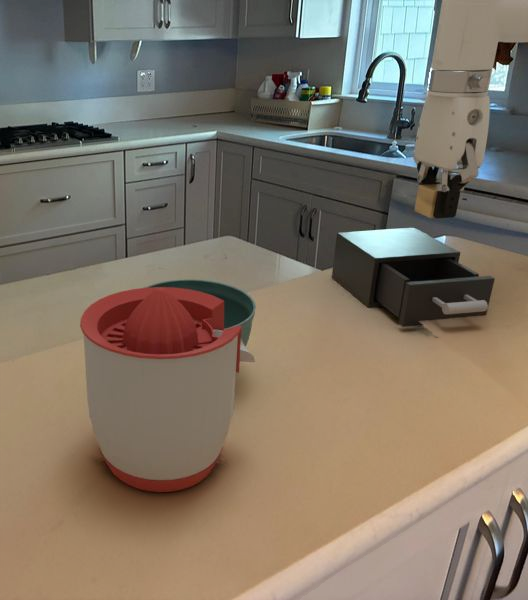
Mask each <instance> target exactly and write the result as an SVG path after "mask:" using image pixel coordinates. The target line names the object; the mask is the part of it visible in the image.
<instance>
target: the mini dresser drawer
mask: <svg viewBox="0 0 528 600" xmlns="http://www.w3.org/2000/svg"><path fill="white" fill-rule="evenodd" d="M495 279H496V278H495V277H493V276H491V275H482V276H480V274H479V273H478V272H476V271H474V270H473V269H471V268H469V267H467V266H465V265H463V264H461V263H460V262H459V263H458V262H456V261H454V260H452V259H451V258H449V257H448V258H434V259H420V260H407V261H393V262H380V263H379V267H378V273H377V280H376V287H375V293H374V299H376V300H377V301H378V302H379V303H381V304H382V305H383V306H382V307H385V309H387V310H388V311H389V312H390V313H392V315H394V316H396V317H397V318H398V319H399V320H398V324H399V325H400V326H401V327H402V328H405V327H416V326H417V327H418V326H419V327H420V326H424V324H422V322H424V321H425V322H426V321H435V320H445V319H446V320H447V319H457V318H470V317H482V316H487V314H488V310H489V306H490V301H491V297H492V292H493V289H494V284H495Z"/></svg>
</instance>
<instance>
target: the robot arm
mask: <svg viewBox="0 0 528 600" xmlns="http://www.w3.org/2000/svg"><path fill="white" fill-rule="evenodd" d="M438 17H439V18H438V24H437V30H436V31H437V32H436V36H435V41H434V42H435V43H434V47H433V54H432V60H431V66H430V72H429V77H428V85H427V90H426V97H425V100H424V103H423V106H422V110H421V114H420V118H419V122H418V126H417V131H416V137H415V142H414V143H415V145H414V153H413V154H412V159H413V161H414V162H415V164H416V169H417V172H418V175H417V178H416V180H417V182H418V186H419V185H427V184H442V186H441V189H442V190H441V191H438V193H437V198H436V203H435V209H434V214H433V216H434V217H435V218H434V219H450V218H451V219H452V218H455V217H456V216H457V211H458V206H459V202H460V196H461V192H464V190H465V186H466V185H467V184H468V183H469V182H471V181H473V180H475V179H476V178H478V177H479V173H480V172H479V169H480V168H481V167H482V166H483V162H484V159H485V154H486V147H487V141H488V134H489V126H490V113H491V101H490V100H491V99H490V97H491V96H489V95H488V93H489V87H490V83H491V79H492V75H493V69H494V65H495V60H496V54H497V51H498V50H497V49H498V44H499V43H501V42H502V43H528V0H441V5H440V11H439V16H438ZM441 173H442V174H441ZM452 174H455V175H454V176H453V177H452ZM440 176H441V182H440V181H439V179H440ZM415 204H416V202H415V203H414V205H415Z"/></svg>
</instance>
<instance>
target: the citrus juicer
mask: <svg viewBox="0 0 528 600" xmlns="http://www.w3.org/2000/svg"><path fill="white" fill-rule="evenodd" d="M79 327H80V330H81V332H82V334H83V344H84V345H83V348H84V363H85V365H84V366H85V377H86V378H85V380H86V399H87V407H88V415H89V418H90V423H91V426H92V429H93V434H94V436H95V439H96V442H97V444H98V448H99V451H100V454H101V456H102V458H103V460H104V461H105V463H106V464H107V467H108V468H109V469H110V471H111V472H112V474H113V475H114V476H115V477H116V478H117V479H118V480H119V481H121V482H123V483H125V484H126V485H128V486H131V487H133V488H135V489H138V490H142V491H146V492H154V493H168V492H169V493H171V492H177V491H183V490H185V489H188V488H191V487H193V486H196V485H197V484H199V483H200V482H202V481H203V480H204V479H205V478H206V477H207V476H209V474H210V473H211V472H212V470H213V468H214V467H215V465H216V463H217V462H218V460H219V458H220V457H221V454H222V451H223V448H224V444H225V443H226V440H227V436H228V434H229V430H230V425H231V422H232V419H233V413H234V407H235V406H234V405H235V396H236V395H235V393H236V377H237V376H236V375H237V374H239V373H240V364H241V363H243V362H244V363H256V360H255V357H254V355H253V354H252V353H251V352H250V351H249V349H248V348H247V346H246V347H245V345H244V343H243V341H242V339H241V325H238V326H235V327H231V328H227V329H224V301H223V300H221V299H219V298H217V297H215V296H213V295H210V294H207V293H203V292H200V291H195V290H190V289H182V288H172V287H149V288H144V287H141V288H132V289H127V290H122V291H118V292H115V293H111V294H108V295H106V296H104V297H102V298H99V299H98V300H96V301H95V302H93V303H91V304H90V305H89V306H88V307H87V308H86V309H85V310H84V311H83V313H82V315H81V317H80V323H79ZM240 362H241V363H240Z"/></svg>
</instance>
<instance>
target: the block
mask: <svg viewBox="0 0 528 600" xmlns="http://www.w3.org/2000/svg"><path fill="white" fill-rule="evenodd" d="M441 186H442V183H441V184H427V185H419V184H418V186H417V192H416V197H415V198H416V200H415V203H416V204H415V203H414V209H413V210H414V212H415V213H418V214H420V215H422V216H424V217H427V218H428V219H436V218H435V217H434V216H433V214H434V209H435V203H436V198H437V193H438V191H441V190H442V189H441Z"/></svg>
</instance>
